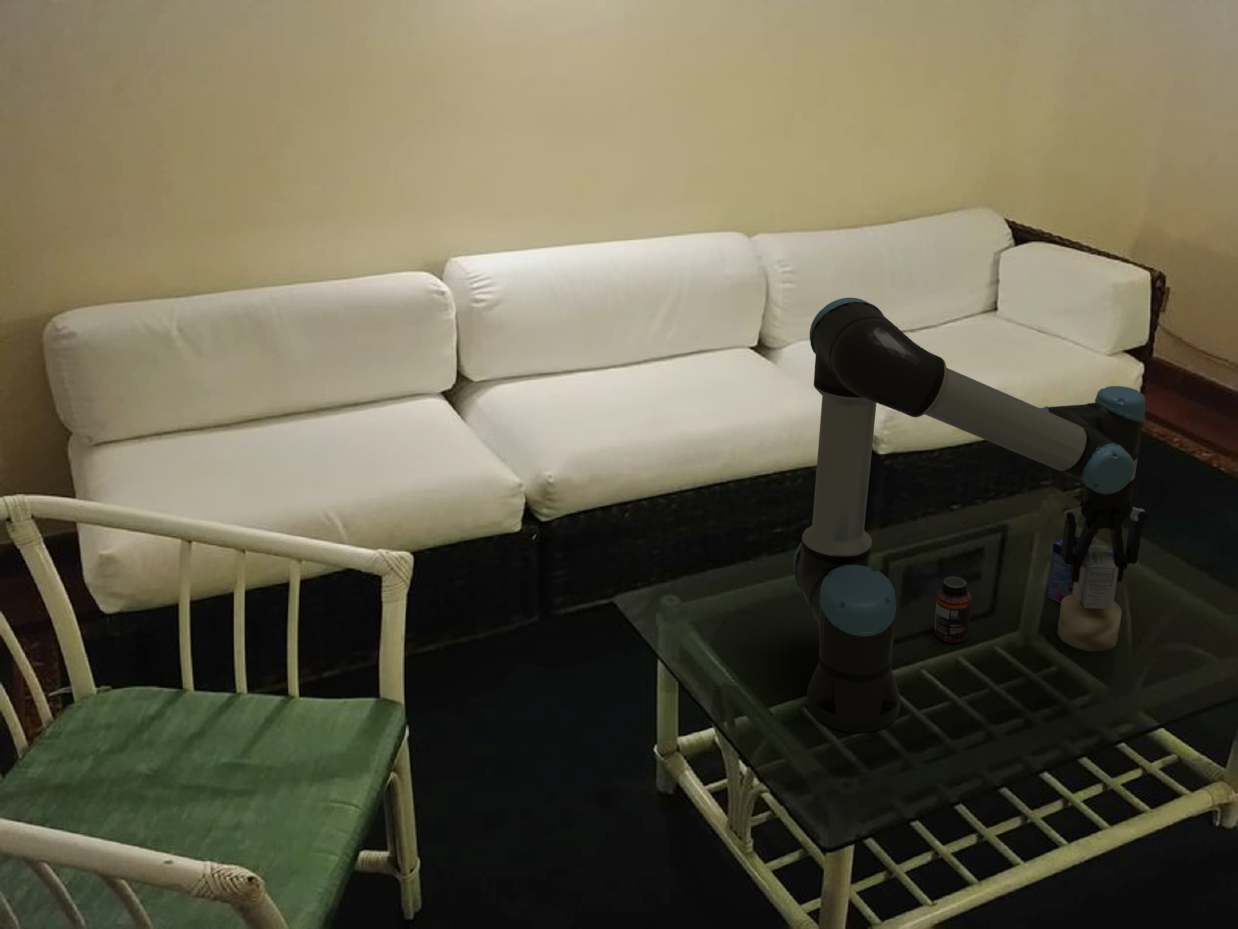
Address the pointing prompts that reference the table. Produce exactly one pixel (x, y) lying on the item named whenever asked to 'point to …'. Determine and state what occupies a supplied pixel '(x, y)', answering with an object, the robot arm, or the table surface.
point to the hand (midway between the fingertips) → (1092, 596)
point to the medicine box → (1098, 578)
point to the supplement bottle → (953, 611)
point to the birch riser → (1088, 625)
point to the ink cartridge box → (1061, 573)
